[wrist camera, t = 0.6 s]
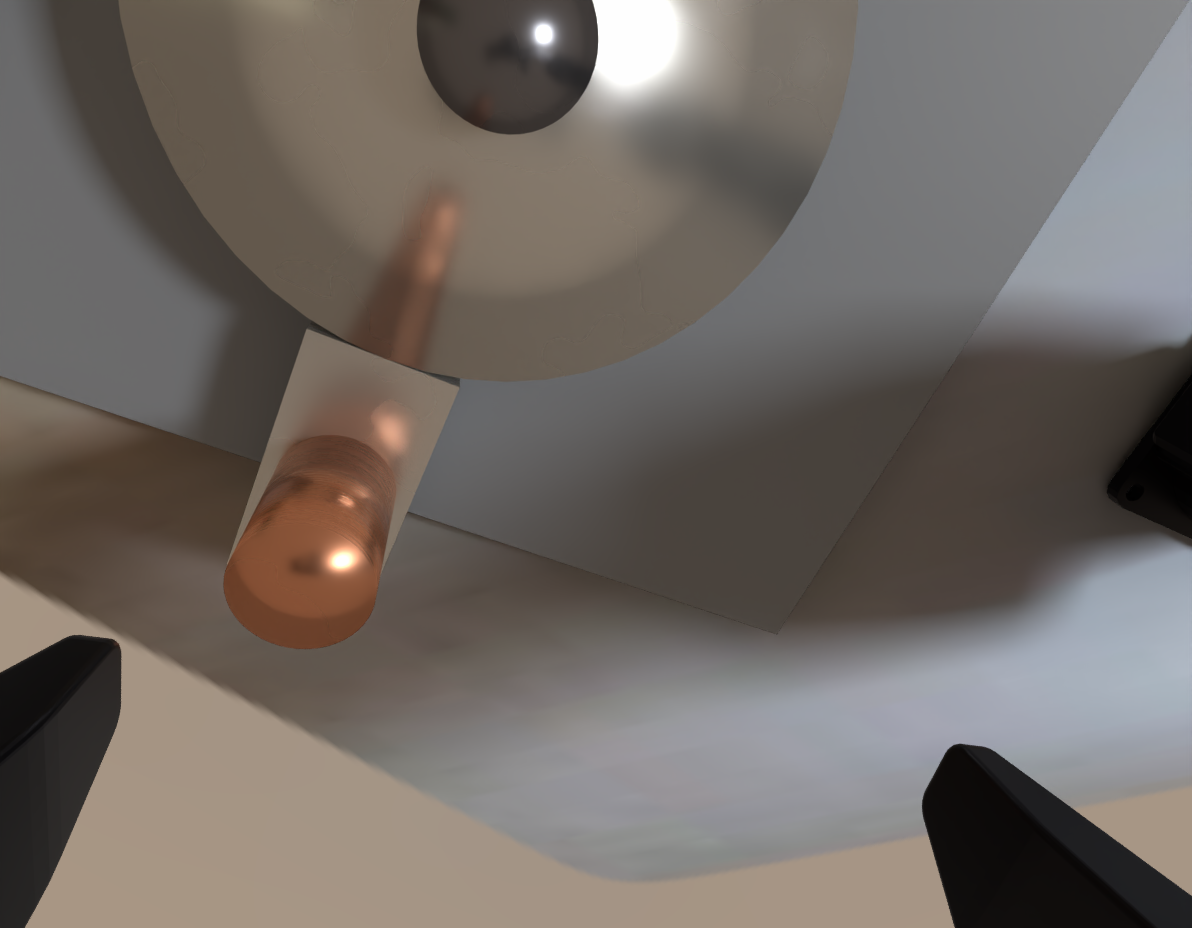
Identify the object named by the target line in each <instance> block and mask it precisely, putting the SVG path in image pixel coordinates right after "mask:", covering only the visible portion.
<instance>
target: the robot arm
mask: <svg viewBox="0 0 1192 928" xmlns="http://www.w3.org/2000/svg"><path fill="white" fill-rule="evenodd" d="M1131 486H1133V487H1132V489H1131V490H1130V491H1129V492H1128V493H1127V491H1128V489H1129V488H1130V487H1131ZM1107 493H1108V496H1109V498H1110V499H1111V500H1113V501H1114V502H1115V503H1117V504H1118V505H1120V506H1121V507H1122V508H1124V509H1127V510H1129V511H1131V512H1133V513H1136V514H1138V515H1140V516H1142V517H1144V518H1147V519H1149V520H1151V521H1153V522H1156V523H1158V524H1160V525H1162V526H1165V527H1167V528H1169V529H1171V530H1174V531H1176V532H1178V533H1180V534H1182V535H1185V536H1187V537H1189V538H1191V539H1192V375H1191V377H1190V378H1189V379H1188V381H1187V382H1186V383H1185V385H1184V386H1183V387H1182V389H1181V390H1180V391H1179V392H1178V394H1177V395H1176V396H1175V398H1174V399H1173V400H1172V402H1171V403H1170V404H1169V405H1168V407H1167V408H1166V409H1165V411H1164V412H1163V413H1162V415H1161V416H1160V417H1159V418H1158V420H1157V421H1156V422H1155V424H1154V425H1153V426H1152V428H1151V429H1150V430H1149V432H1148V433H1147V434H1146V435H1145V437H1144V438H1143V439H1142V441H1141V442H1140V443H1139V445H1138V446H1137V447H1136V448H1135V450H1134V451H1133V452H1132V454H1131V455H1130V456H1129V458H1128V459H1127V460H1126V461H1125V463H1124V464H1123V465H1122V467H1121V468H1120V469H1119V471H1118V472H1117V473H1116V475H1115V476H1114V477H1113V478H1112V480H1111V482H1110V483H1109V485H1108V490H1107ZM120 709H121V649H120V646H119V644H118V643H117V642H116V641H115V640H113V639H108V638H100V637H92V636H84V635H72V636H69V637H66V638H64V639H62V640H61V641H59V642H57V643H55V644H53V645H51V646H49V647H47V648H46V649H44V650H42V651H40V652H38V653H36V654H34V655H32V656H31V657H29V658H27V659H25V660H23V661H21V662H20V663H18V664H16V665H14V666H12V667H10V668H8V669H6V670H5V671H3V672H1V673H0V928H25V926H26V924H27V923H28V921H29V919H30V917H31V915H32V914H33V912H34V910H35V908H36V906H37V905H38V903H39V901H40V899H41V897H42V895H43V893H44V891H45V890H46V887H47V886H48V884H49V882H50V880H51V877H52V875H53V873H54V871H55V869H56V867H57V864H58V862H59V860H60V858H61V856H62V853H63V851H64V848H65V846H66V843H67V841H68V839H69V837H70V835H71V832H72V830H73V828H74V825H75V823H76V821H77V818H78V816H79V813H80V811H81V809H82V806H83V804H84V802H85V800H86V797H87V795H88V792H89V790H90V787H91V785H92V783H93V781H94V778H95V776H96V774H97V771H98V769H99V767H100V764H101V762H102V760H103V757H104V755H105V753H106V750H107V748H108V746H109V743H110V741H111V739H112V736H113V734H114V731H115V729H116V726H117V723H118V718H119V715H120ZM922 812H923V818H924V822H925V825H926V829H927V832H928V836H929V839H930V843H931V846H932V850H933V853H934V857H935V860H936V864H937V867H938V871H939V874H940V878H941V881H942V885H943V888H944V892H945V895H946V899H947V902H948V906H949V909H950V913H951V916H952V920H953V923H954V927H955V928H1192V896H1191V895H1190V894H1188V893H1187V892H1185V891H1184V890H1182V889H1181V888H1180V887H1179V886H1177V885H1176V884H1175V883H1173V882H1172V881H1171V880H1169V879H1167V878H1166V877H1165V876H1164V875H1162V874H1161V873H1160V872H1158V871H1157V870H1156V869H1154V868H1153V867H1151V866H1150V865H1149V864H1147V863H1146V862H1145V861H1143V860H1142V859H1140V858H1139V857H1138V856H1136V855H1135V854H1134V853H1132V852H1131V851H1130V850H1128V849H1127V848H1125V847H1124V846H1123V845H1121V844H1120V843H1119V842H1117V841H1116V840H1114V839H1113V838H1112V837H1110V836H1109V835H1108V834H1106V833H1105V832H1104V831H1102V830H1101V829H1100V828H1098V827H1097V826H1095V825H1094V824H1093V823H1091V822H1090V821H1088V820H1087V819H1086V818H1085V817H1083V816H1082V815H1080V814H1079V813H1078V812H1076V811H1075V810H1074V809H1072V808H1071V807H1070V806H1068V805H1067V804H1065V803H1064V802H1063V801H1061V800H1060V799H1059V798H1057V797H1056V796H1055V795H1053V794H1052V793H1050V792H1049V791H1048V790H1046V789H1045V788H1044V787H1042V786H1041V785H1040V784H1038V783H1037V782H1035V781H1034V780H1033V779H1031V778H1030V777H1029V776H1027V775H1026V774H1025V773H1023V772H1022V771H1020V770H1019V769H1018V768H1016V767H1015V766H1014V765H1012V764H1011V763H1010V762H1008V761H1007V760H1005V759H1004V758H1003V757H1001V756H1000V755H999V754H997V753H996V752H995V751H993V750H991V749H989V748H986V747H982V746H974V745H966V744H956V745H953V746H952V747H950V748H949V749H948V750H947V752H946V753H945V755H944V757H943V759H942V760H941V762H940V764H939V766H938V768H937V770H936V772H935V774H934V775H933V777H932V779H931V781H930V783H929V785H928V787H927V788H926V790H925V793H924V796H923V800H922Z"/></svg>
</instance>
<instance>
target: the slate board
mask: <svg viewBox="0 0 1192 928" xmlns="http://www.w3.org/2000/svg"><path fill="white" fill-rule="evenodd" d="M1188 2H1189V0H858V15H857V24H856V34H855V43H854V53H853V60H852V65H851V69H850V74H849V79H848V83H847V88H846V92H845V97H844V101H843V106H842V109H841V112H840V115H839V118H838V121H837V124H836V127H835V130H834V133H833V136H832V139H831V142H830V145H829V148H828V151H827V153H826V156H825V158H824V160H823V162H822V164H821V166H820V168H819V170H818V173H817V175H816V177H815V179H814V181H813V183H812V185H811V188H810V190H809V192H808V194H807V196H806V197H805V199H804V201H803V202H802V204H801V206H800V207H799V209H798V210H797V212H796V214H795V215H794V217H793V219H792V220H791V222H790V223H789V225H788V227H787V228H786V230H785V232H784V233H783V234H782V236H781V237H780V238H779V239H778V241H777V242H776V243H775V245H774V246H773V247H772V248H771V250H770V251H769V252H768V253H767V255H766V256H765V257H764V259H763V260H762V261H761V262H760V264H759V265H758V266H757V267H756V268H755V269H754V270H753V271H752V272H751V273H750V274H749V275H748V276H747V277H746V278H745V279H744V280H743V281H742V282H741V283H740V285H739V286H738V287H737V288H736V289H735V290H734V291H733V292H732V293H731V294H730V295H729V296H728V297H726V298H725V299H724V300H723V301H721V302H720V303H719V304H718V305H716V306H715V307H714V308H713V309H711V310H710V311H709V312H708V313H706V314H705V315H704V316H702V317H701V318H700V319H699V320H697V321H696V322H695V323H693V324H692V325H690V326H688V327H687V328H685V329H684V330H682V331H680V332H679V333H677V334H675V335H674V336H672V337H670V338H669V339H667V340H666V341H664V342H662V343H661V344H659V345H656V346H654V347H652V348H650V349H648V350H646V351H643V352H641V353H639V354H637V355H635V356H632V357H630V358H628V359H626V360H624V361H620V362H617V363H614V364H611V365H608V366H605V367H601V368H598V369H595V370H592V371H589V372H585V373H580V374H574V375H569V376H563V377H558V378H553V379H547V380H531V381H514V382H500V381H485V380H469V379H462V378H460V388H459V390H458V393H457V395H456V398H455V400H454V402H453V405H452V407H451V409H450V412H449V414H448V416H447V419H446V421H445V424H444V426H443V428H442V431H441V433H440V435H439V438H438V440H437V443H436V445H435V447H434V450H433V452H432V454H431V457H430V459H429V461H428V464H427V466H426V469H425V471H424V473H423V476H422V478H421V480H420V483H419V485H418V488H417V490H416V492H415V495H414V497H413V499H412V502H411V504H410V506H409V509H408V512H411V513H414V514H417V515H420V516H423V517H426V518H429V519H432V520H435V521H438V522H441V523H444V524H447V525H450V526H453V527H456V528H459V529H462V530H465V531H468V532H471V533H474V534H477V535H480V536H483V537H486V538H489V539H492V540H495V541H498V542H501V543H504V544H507V545H510V546H513V547H516V548H519V549H522V550H525V551H528V552H531V553H534V554H537V555H540V556H543V557H546V558H549V559H552V560H555V561H558V562H561V563H564V564H567V565H570V566H573V567H576V568H579V569H582V570H585V571H588V572H591V573H594V574H597V575H600V576H603V577H606V578H609V579H612V580H615V581H618V582H621V583H624V584H627V585H630V586H633V587H636V588H639V589H642V590H645V591H648V592H651V593H654V594H657V595H660V596H663V597H666V598H669V599H672V600H675V601H678V602H681V603H684V604H687V605H690V606H693V607H696V608H699V609H702V610H705V611H708V612H711V613H714V614H717V615H720V616H723V617H726V618H729V619H732V620H735V621H738V622H741V623H744V624H747V625H750V626H753V627H756V628H759V629H762V630H765V631H768V632H771V633H774V634H778V632H779V630H780V629H781V627H782V626H783V624H784V623H785V621H786V620H787V618H788V617H789V615H790V614H791V612H792V610H793V609H794V607H795V606H796V604H797V603H798V601H799V600H800V598H801V597H802V595H803V594H804V592H805V591H806V589H807V587H808V586H809V584H810V583H811V581H812V580H813V578H814V577H815V575H816V574H817V572H818V571H819V569H820V567H821V566H822V564H823V563H824V561H825V560H826V558H827V557H828V555H829V554H830V552H831V551H832V549H833V547H834V546H835V544H836V543H837V541H838V540H839V538H840V537H841V535H842V534H843V532H844V531H845V529H846V527H847V526H848V524H849V523H850V521H851V520H852V518H853V517H854V515H855V514H856V512H857V511H858V509H859V508H860V506H861V504H862V503H863V501H864V500H865V498H866V497H867V495H868V494H869V492H870V491H871V489H872V488H873V486H874V484H875V483H876V481H877V480H878V478H879V477H880V475H881V474H882V472H883V471H884V469H885V468H886V466H887V464H888V463H889V461H890V460H891V458H892V457H893V455H894V454H895V452H896V451H897V449H898V448H899V446H900V444H901V443H902V441H903V440H904V438H905V437H906V435H907V434H908V432H909V431H910V429H911V428H912V426H913V424H914V423H915V421H916V420H917V418H918V417H919V415H920V414H921V412H922V411H923V409H924V408H925V406H926V405H927V403H928V401H929V400H930V398H931V397H932V395H933V394H934V392H935V391H936V389H937V388H938V386H939V385H940V383H941V381H942V380H943V378H944V377H945V375H946V374H947V372H948V371H949V369H950V368H951V366H952V365H953V363H954V361H955V360H956V358H957V357H958V355H959V354H960V352H961V351H962V349H963V348H964V346H965V345H966V343H967V341H968V340H969V338H970V337H971V335H972V334H973V332H974V331H975V329H976V328H977V326H978V325H979V323H980V322H981V320H982V318H983V317H984V315H985V314H986V312H987V311H988V309H989V308H990V306H991V305H992V303H993V302H994V300H995V298H996V297H997V295H998V294H999V292H1000V291H1001V289H1002V288H1003V286H1004V285H1005V283H1006V282H1007V280H1008V278H1009V277H1010V275H1011V274H1012V272H1013V271H1014V269H1015V268H1016V266H1017V265H1018V263H1019V262H1020V260H1021V258H1022V257H1023V255H1024V254H1025V252H1026V251H1027V249H1028V248H1029V246H1030V245H1031V243H1032V242H1033V240H1034V239H1035V237H1036V235H1037V234H1038V232H1039V231H1040V229H1041V228H1042V226H1043V225H1044V223H1045V222H1046V220H1047V219H1048V217H1049V215H1050V214H1051V212H1052V211H1053V209H1054V208H1055V206H1056V205H1057V203H1058V202H1059V200H1060V199H1061V197H1062V195H1063V194H1064V192H1065V191H1066V189H1067V188H1068V186H1069V185H1070V183H1071V182H1072V180H1073V179H1074V177H1075V175H1076V174H1077V172H1078V171H1079V169H1080V168H1081V166H1082V165H1083V163H1084V162H1085V160H1086V159H1087V157H1088V155H1089V154H1090V152H1091V151H1092V149H1093V148H1094V146H1095V145H1096V143H1097V142H1098V140H1099V139H1100V137H1101V136H1102V134H1103V132H1104V131H1105V129H1106V128H1107V126H1108V125H1109V123H1110V122H1111V120H1112V119H1113V117H1114V116H1115V114H1116V112H1117V111H1118V109H1119V108H1120V106H1121V105H1122V103H1123V102H1124V100H1125V99H1126V97H1127V96H1128V94H1129V92H1130V91H1131V89H1132V88H1133V86H1134V85H1135V83H1136V82H1137V80H1138V79H1139V77H1140V76H1141V74H1142V72H1143V71H1144V69H1145V68H1146V66H1147V65H1148V63H1149V62H1150V60H1151V59H1152V57H1153V56H1154V54H1155V53H1156V51H1157V49H1158V48H1159V46H1160V45H1161V43H1162V42H1163V40H1164V39H1165V37H1166V36H1167V34H1168V33H1169V31H1170V29H1171V28H1172V26H1173V25H1174V23H1175V22H1176V20H1177V19H1178V17H1179V16H1180V14H1181V13H1182V11H1183V9H1184V8H1185V6H1186V5H1187V3H1188ZM311 321H312V320H310V319H309V318H307V317H306V316H304V315H303V314H302V313H300V312H299V311H298V310H297V309H295V308H294V307H293V306H291V305H290V304H289V303H288V302H286V301H285V300H284V299H282V298H281V297H280V296H279V295H277V294H276V293H275V292H273V291H272V290H271V289H270V288H269V287H268V286H267V285H266V284H265V283H264V282H262V281H261V280H260V279H259V278H258V277H257V276H256V275H255V274H254V273H253V272H252V271H251V270H250V269H249V268H248V267H247V266H246V265H245V264H244V263H243V262H242V261H241V260H240V259H239V258H238V257H237V256H236V255H235V254H234V253H233V251H232V250H231V249H230V248H229V247H228V245H227V244H226V243H225V242H224V240H223V239H222V238H221V237H220V236H219V234H218V233H217V232H216V231H215V229H214V228H213V227H212V226H211V225H210V223H209V222H208V221H207V220H206V218H205V217H204V216H203V214H202V213H201V211H200V210H199V208H198V206H197V205H196V203H195V202H194V200H193V199H192V197H191V196H190V194H189V193H188V191H187V189H186V188H185V186H184V185H183V183H182V182H181V180H180V179H179V177H178V175H177V174H176V172H175V170H174V168H173V166H172V164H171V162H170V160H169V158H168V156H167V154H166V152H165V150H164V148H163V146H162V144H161V142H160V140H159V138H158V136H157V134H156V132H155V130H154V128H153V126H152V123H151V120H150V118H149V115H148V112H147V109H146V106H145V104H144V101H143V98H142V95H141V93H140V90H139V87H138V84H137V82H136V79H135V76H134V73H133V69H132V65H131V61H130V56H129V52H128V48H127V44H126V39H125V35H124V31H123V27H122V22H121V18H120V10H119V1H118V0H0V376H2V377H5V378H8V379H11V380H14V381H17V382H20V383H23V384H26V385H29V386H32V387H35V388H38V389H41V390H44V391H47V392H50V393H53V394H56V395H59V396H62V397H65V398H68V399H71V400H74V401H77V402H80V403H83V404H86V405H89V406H92V407H95V408H98V409H101V410H104V411H107V412H110V413H113V414H116V415H119V416H122V417H125V418H128V419H131V420H134V421H137V422H140V423H143V424H146V425H149V426H152V427H155V428H158V429H161V430H164V431H167V432H170V433H173V434H176V435H179V436H182V437H185V438H188V439H191V440H194V441H197V442H200V443H203V444H206V445H209V446H212V447H215V448H218V449H221V450H224V451H227V452H230V453H233V454H236V455H239V456H242V457H245V458H248V459H251V460H254V461H257V462H260V463H261V462H262V459H263V456H264V453H265V450H266V447H267V444H268V441H269V438H270V435H271V432H272V429H273V426H274V423H275V420H276V418H277V415H278V412H279V409H280V406H281V403H282V400H283V397H284V394H285V391H286V388H287V385H288V382H289V379H290V376H291V373H292V370H293V367H294V365H295V362H296V359H297V356H298V353H299V350H300V347H301V344H302V341H303V338H304V335H305V332H306V329H307V327H308V326H309V324H310V323H311Z"/></svg>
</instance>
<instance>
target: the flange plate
mask: <svg viewBox="0 0 1192 928" xmlns="http://www.w3.org/2000/svg"><path fill="white" fill-rule="evenodd" d="M118 1H119V10H120V18H121V22H122V27H123V31H124V35H125V39H126V44H127V48H128V52H129V56H130V61H131V65H132V69H133V73H134V76H135V79H136V82H137V84H138V87H139V90H140V93H141V95H142V98H143V101H144V104H145V106H146V109H147V112H148V115H149V118H150V120H151V123H152V126H153V128H154V130H155V132H156V134H157V136H158V138H159V140H160V142H161V144H162V146H163V148H164V150H165V152H166V154H167V156H168V158H169V160H170V162H171V164H172V166H173V168H174V170H175V172H176V174H177V175H178V177H179V179H180V180H181V182H182V183H183V185H184V186H185V188H186V189H187V191H188V193H189V194H190V196H191V197H192V199H193V200H194V202H195V203H196V205H197V206H198V208H199V210H200V211H201V213H202V214H203V216H204V217H205V218H206V220H207V221H208V222H209V223H210V225H211V226H212V227H213V228H214V229H215V231H216V232H217V233H218V234H219V236H220V237H221V238H222V239H223V240H224V242H225V243H226V244H227V245H228V247H229V248H230V249H231V250H232V251H233V253H234V254H235V255H236V256H237V257H238V258H239V259H240V260H241V261H242V262H243V263H244V264H245V265H246V266H247V267H248V268H249V269H250V270H251V271H252V272H253V273H254V274H255V275H256V276H257V277H258V278H259V279H260V280H261V281H262V282H264V283H265V284H266V285H267V286H268V287H269V288H270V289H271V290H272V291H273V292H275V293H276V294H277V295H279V296H280V297H281V298H282V299H284V300H285V301H286V302H288V303H289V304H290V305H291V306H293V307H294V308H295V309H297V310H298V311H299V312H300V313H302V314H303V315H304V316H306V317H307V318H309V319H310V320H312V321H311V323H310V324H309V326H308V327H307V329H306V332H305V335H304V338H303V341H302V344H301V347H300V350H299V353H298V356H297V359H296V362H295V365H294V367H293V370H292V373H291V376H290V379H289V382H288V385H287V388H286V391H285V394H284V397H283V400H282V403H281V406H280V409H279V412H278V415H277V418H276V420H275V423H274V426H273V429H272V432H271V435H270V438H269V441H268V444H267V447H266V450H265V453H264V456H263V459H262V462H261V465H260V468H259V471H258V473H257V476H256V479H255V482H254V485H253V488H252V491H251V494H250V497H249V500H248V503H247V506H246V509H245V512H244V515H243V518H242V521H241V524H240V526H239V529H238V532H237V535H236V538H235V541H234V544H233V547H232V550H231V553H230V556H229V559H228V562H227V567H226V570H225V575H224V593H225V597H226V601H227V603H228V605H229V608H230V609H231V611H232V613H233V614H234V616H235V617H236V618H237V619H238V621H239V622H240V623H241V624H242V625H243V626H244V627H245V628H246V629H248V630H249V631H250V632H252V633H253V634H255V635H256V636H258V637H260V638H261V639H264V640H266V641H268V642H270V643H273V644H276V645H279V646H284V647H288V648H296V649H314V648H321V647H326V646H330V645H333V644H336V643H338V642H340V641H343V640H345V639H346V638H348V637H350V636H351V635H353V634H354V633H355V632H357V631H358V630H359V629H360V628H361V627H362V626H363V625H364V623H365V622H366V621H367V619H368V618H369V616H370V614H371V612H372V610H373V607H374V604H375V600H376V595H377V589H378V584H379V579H380V575H381V573H382V570H383V568H384V566H385V563H386V561H387V559H388V556H389V554H390V551H391V549H392V547H393V544H394V542H395V540H396V537H397V535H398V533H399V530H400V528H401V525H402V523H403V521H404V518H405V516H406V514H407V511H408V509H409V506H410V504H411V502H412V499H413V497H414V495H415V492H416V490H417V488H418V485H419V483H420V480H421V478H422V476H423V473H424V471H425V469H426V466H427V464H428V461H429V459H430V457H431V454H432V452H433V450H434V447H435V445H436V443H437V440H438V438H439V435H440V433H441V431H442V428H443V426H444V424H445V421H446V419H447V416H448V414H449V412H450V409H451V407H452V405H453V402H454V400H455V398H456V395H457V393H458V390H459V388H460V378H462V379H469V380H485V381H500V382H514V381H531V380H547V379H553V378H558V377H563V376H569V375H574V374H580V373H585V372H589V371H592V370H595V369H598V368H601V367H605V366H608V365H611V364H614V363H617V362H620V361H624V360H626V359H628V358H630V357H632V356H635V355H637V354H639V353H641V352H643V351H646V350H648V349H650V348H652V347H654V346H656V345H659V344H661V343H662V342H664V341H666V340H667V339H669V338H670V337H672V336H674V335H675V334H677V333H679V332H680V331H682V330H684V329H685V328H687V327H688V326H690V325H692V324H693V323H695V322H696V321H697V320H699V319H700V318H701V317H702V316H704V315H705V314H706V313H708V312H709V311H710V310H711V309H713V308H714V307H715V306H716V305H718V304H719V303H720V302H721V301H723V300H724V299H725V298H726V297H728V296H729V295H730V294H731V293H732V292H733V291H734V290H735V289H736V288H737V287H738V286H739V285H740V283H741V282H742V281H743V280H744V279H745V278H746V277H747V276H748V275H749V274H750V273H751V272H752V271H753V270H754V269H755V268H756V267H757V266H758V265H759V264H760V262H761V261H762V260H763V259H764V257H765V256H766V255H767V253H768V252H769V251H770V250H771V248H772V247H773V246H774V245H775V243H776V242H777V241H778V239H779V238H780V237H781V236H782V234H783V233H784V232H785V230H786V228H787V227H788V225H789V223H790V222H791V220H792V219H793V217H794V215H795V214H796V212H797V210H798V209H799V207H800V206H801V204H802V202H803V201H804V199H805V197H806V196H807V194H808V192H809V190H810V188H811V185H812V183H813V181H814V179H815V177H816V175H817V173H818V170H819V168H820V166H821V164H822V162H823V160H824V158H825V156H826V153H827V151H828V148H829V145H830V142H831V139H832V136H833V133H834V130H835V127H836V124H837V121H838V118H839V115H840V112H841V109H842V106H843V101H844V97H845V92H846V88H847V83H848V79H849V74H850V69H851V65H852V60H853V53H854V43H855V34H856V24H857V15H858V0H118Z"/></svg>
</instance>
